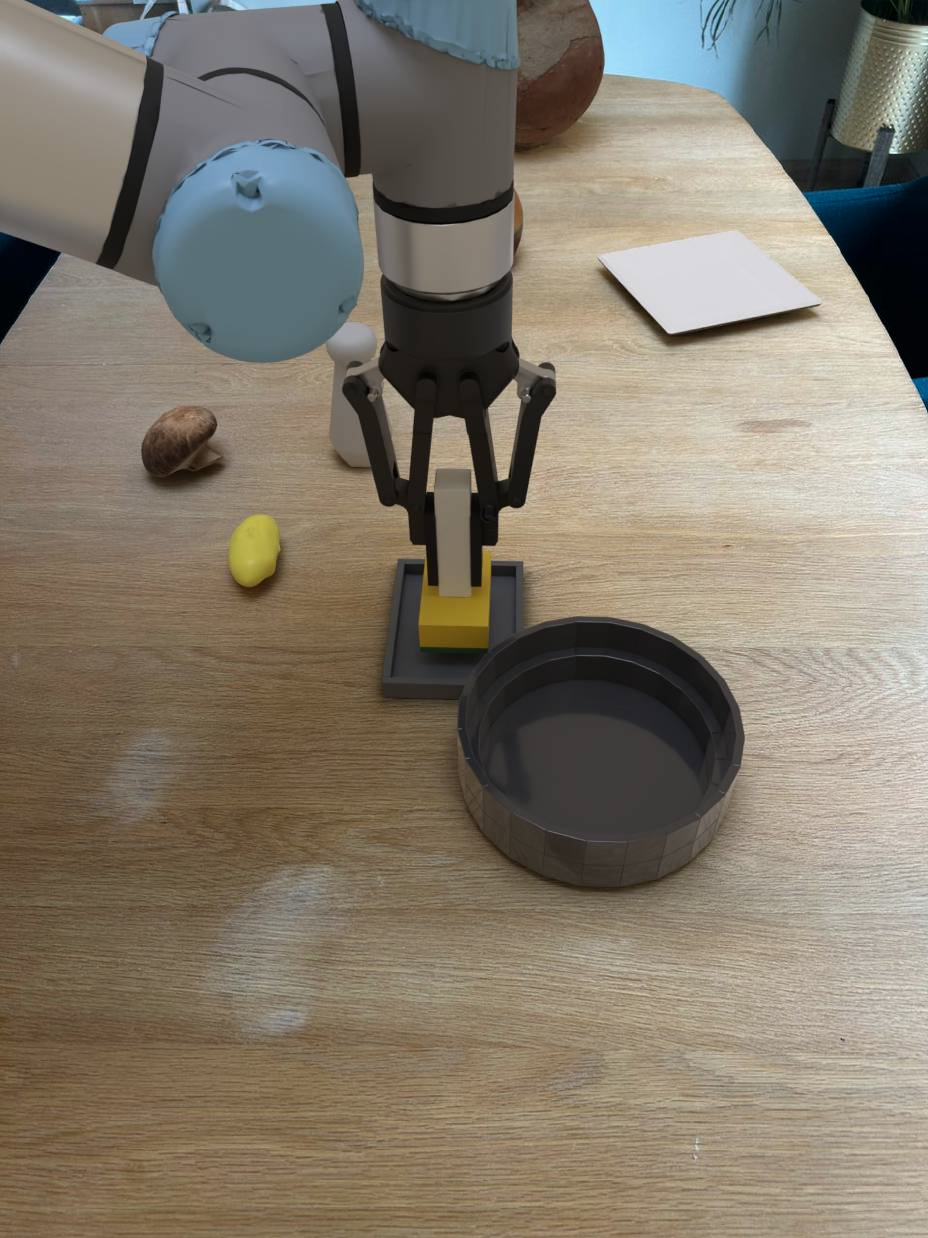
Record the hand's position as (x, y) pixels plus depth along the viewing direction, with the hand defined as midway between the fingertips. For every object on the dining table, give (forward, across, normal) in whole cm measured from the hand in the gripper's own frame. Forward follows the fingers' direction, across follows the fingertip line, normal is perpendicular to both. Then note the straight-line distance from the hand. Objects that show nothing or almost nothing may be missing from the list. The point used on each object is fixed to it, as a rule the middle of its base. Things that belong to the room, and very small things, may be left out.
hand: (455, 573), depth 73 cm
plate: (+7, -25, -54) cm, 60 cm away
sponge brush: (+4, 0, 0) cm, 4 cm away
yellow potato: (+7, +17, -7) cm, 20 cm away
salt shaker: (+7, +10, -23) cm, 26 cm away
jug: (+7, -5, -98) cm, 99 cm away
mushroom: (+7, +26, -20) cm, 34 cm away
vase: (+7, +1, -62) cm, 62 cm away
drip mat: (+7, 0, 0) cm, 7 cm away
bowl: (+7, -10, +13) cm, 17 cm away
